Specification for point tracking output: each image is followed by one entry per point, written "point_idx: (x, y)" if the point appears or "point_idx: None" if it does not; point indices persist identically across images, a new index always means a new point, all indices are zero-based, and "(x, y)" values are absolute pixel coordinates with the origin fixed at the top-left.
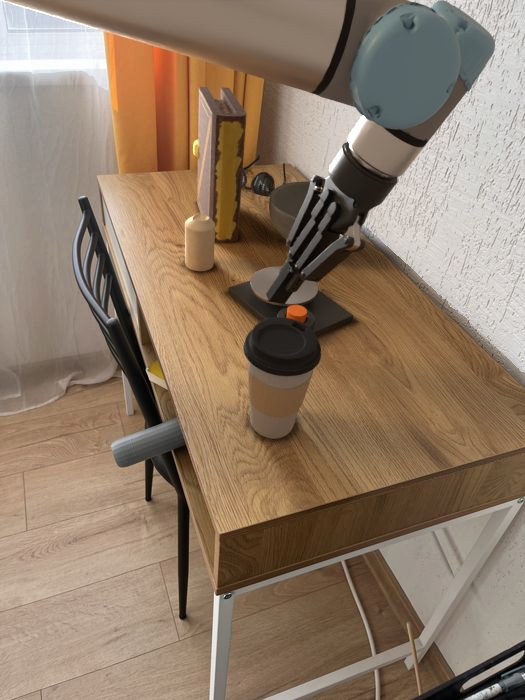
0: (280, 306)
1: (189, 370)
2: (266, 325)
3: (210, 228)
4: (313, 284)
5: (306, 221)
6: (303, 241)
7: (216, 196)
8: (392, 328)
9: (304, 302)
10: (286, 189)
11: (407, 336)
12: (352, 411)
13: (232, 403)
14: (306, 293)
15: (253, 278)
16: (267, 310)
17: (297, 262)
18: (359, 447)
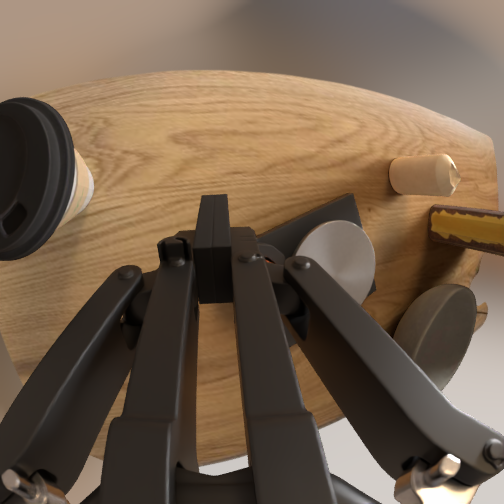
0: None
1: (189, 94)
2: (27, 138)
3: (439, 184)
4: None
5: (336, 357)
6: (236, 317)
7: (478, 215)
8: (238, 399)
9: None
10: (470, 311)
11: (220, 411)
12: (77, 305)
13: (110, 139)
14: None
15: (357, 229)
16: (296, 237)
17: (186, 270)
18: (26, 291)
